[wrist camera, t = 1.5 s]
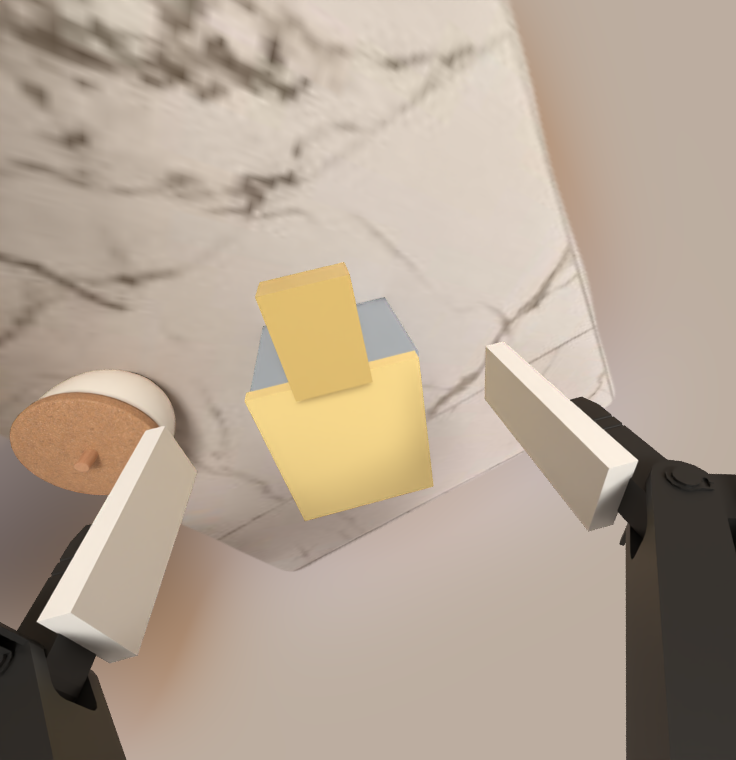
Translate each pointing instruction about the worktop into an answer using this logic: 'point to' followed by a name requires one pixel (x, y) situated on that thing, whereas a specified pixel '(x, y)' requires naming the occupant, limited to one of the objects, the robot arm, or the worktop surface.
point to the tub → (378, 334)
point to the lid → (337, 400)
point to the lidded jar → (89, 428)
